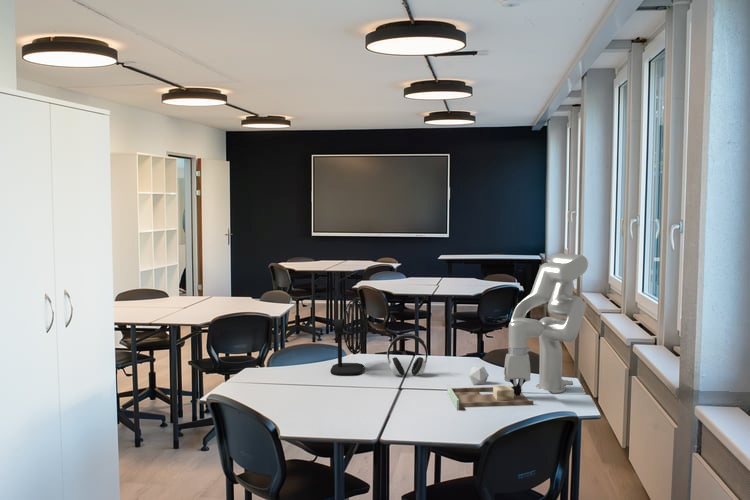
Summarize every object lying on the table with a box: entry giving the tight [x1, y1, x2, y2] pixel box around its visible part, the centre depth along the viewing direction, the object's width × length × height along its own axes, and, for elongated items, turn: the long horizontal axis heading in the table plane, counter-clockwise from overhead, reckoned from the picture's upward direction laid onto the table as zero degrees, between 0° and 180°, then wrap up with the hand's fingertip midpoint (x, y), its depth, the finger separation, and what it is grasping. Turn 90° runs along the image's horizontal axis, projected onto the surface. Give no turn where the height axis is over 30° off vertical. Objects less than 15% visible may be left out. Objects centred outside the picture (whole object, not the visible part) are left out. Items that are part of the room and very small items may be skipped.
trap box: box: [451, 386, 534, 411], centre depth 289 cm, size 30×22×3 cm
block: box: [492, 385, 514, 400], centre depth 290 cm, size 7×7×4 cm
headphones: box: [386, 333, 429, 377], centre depth 330 cm, size 19×8×20 cm, turn 91°
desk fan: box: [330, 298, 369, 376], centre depth 340 cm, size 27×18×35 cm, turn 176°
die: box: [468, 366, 489, 386], centre depth 315 cm, size 8×9×10 cm
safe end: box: [446, 384, 460, 411], centre depth 288 cm, size 1×22×4 cm, turn 4°
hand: (517, 394), depth 290 cm, fingers closed
